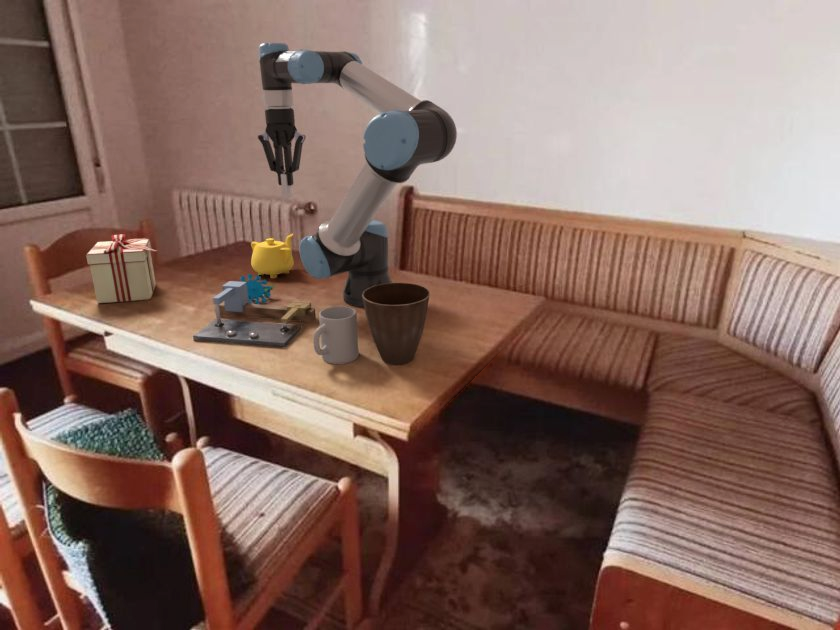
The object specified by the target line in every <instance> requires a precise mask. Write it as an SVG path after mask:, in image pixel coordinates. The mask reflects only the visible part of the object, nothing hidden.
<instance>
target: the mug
mask: <svg viewBox="0 0 840 630" xmlns="http://www.w3.org/2000/svg"><path fill="white" fill-rule="evenodd" d="M318 319H319V320H318V321H319V326H318V327H317V328H316V329H315V330H314V332H313V342H312V343H313V348H314V352H315V353H316V354H317V355H318V356H321V358H322V360H324V361H325V362H326V363H329V364H333V365H345V364H348V363H351V362H354V361H355V360H357V359H358V357H359V354H360V353H359V352H360V351H359V339H358V338H359V335H358V334H359V333H358V317H357V311H356V309H355V308H353V307H350V306H346V305H345V306H344V305H336V306H330V307H326V308H324V309H322V310H320V311H319V315H318ZM320 345H321V347H320Z"/></svg>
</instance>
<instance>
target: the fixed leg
mask: <svg viewBox="0 0 840 630" xmlns="http://www.w3.org/2000/svg"><path fill="white" fill-rule="evenodd" d="M308 308H312V302H311V301H301V300H300V301H299V300H293V301H292V302H291V303H290V304H289V305H287V313H286V314H285V315H284V316H283V317H282V318H281V320H280V323H281V324H282V327H283V329H286V328H287V326H286V324H288V323H289V322H290V321H291V319H292V318H293V317H294V316H304V317H305V316H306V310H307V309H308Z"/></svg>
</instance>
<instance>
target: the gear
mask: <svg viewBox="0 0 840 630" xmlns="http://www.w3.org/2000/svg"><path fill="white" fill-rule="evenodd" d="M253 276H254V275H253V274H251V273H248V275H247V279H248V280H247V281H246V276H245V275H244V276H240V280H238V281H237V282H247V290H248V298H249V303H250V304H252V301H253V300H256V301H254V303H253V304H259V305H261V304H260V298H261V303H262V304H265V303H267V301H268V300H267V299H269V298H270V297H271V296H272V294H271V291H272V290H274V288H275V285H274V284H270V285H268V286H266V285H267V284H268V281H267V279H263V280H262V281H260V280H261V279H262V277H261V276H259V275H258V274H257V275H256V276H255V279H253V280H252V278H253Z"/></svg>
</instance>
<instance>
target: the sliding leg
mask: <svg viewBox="0 0 840 630" xmlns="http://www.w3.org/2000/svg"><path fill="white" fill-rule="evenodd" d="M247 282H248V281H246V282H243V281H240V282H238V281H237V280H236V281H235V280H229V281H227V282H226V283H224V284H222V285H221V287H222V291H221V292H220V293H218V294H216V295H215V296H214V297H213V298H212V300H213V301H212V302H213V305H214V312H215V311H216V312H215V316H216V318H215V319H217V324H221V319H222V318H221V316H222V315H220V310H219V304H221V303H222V302H224V306H225V311H234V312H243V306H244V305H245V304H250V303H249V298H248V290H247Z"/></svg>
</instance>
